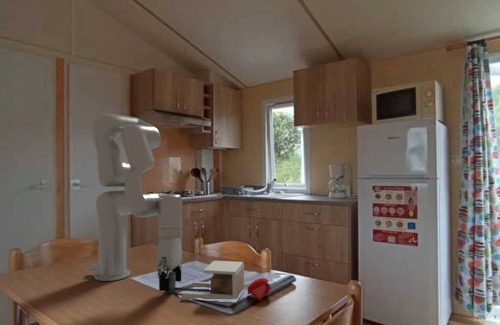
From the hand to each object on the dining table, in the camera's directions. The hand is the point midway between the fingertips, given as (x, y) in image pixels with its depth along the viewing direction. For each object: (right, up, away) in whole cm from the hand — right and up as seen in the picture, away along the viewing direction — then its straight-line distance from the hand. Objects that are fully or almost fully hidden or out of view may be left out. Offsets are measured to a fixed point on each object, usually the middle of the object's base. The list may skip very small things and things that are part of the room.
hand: (170, 285), depth 113 cm
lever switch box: (+14, -2, -2) cm, 14 cm away
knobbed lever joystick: (+10, -2, -2) cm, 10 cm away
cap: (+28, -2, -5) cm, 29 cm away
